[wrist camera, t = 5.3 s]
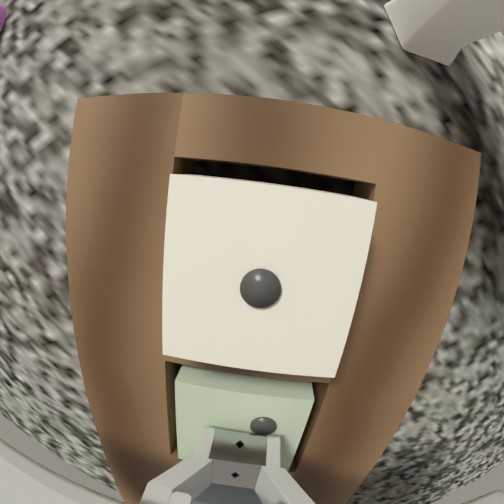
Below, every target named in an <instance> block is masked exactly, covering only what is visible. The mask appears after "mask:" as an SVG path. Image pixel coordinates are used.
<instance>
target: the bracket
mask: <svg viewBox="0 0 504 504" xmlns="http://www.w3.org/2000/svg"><path fill="white" fill-rule="evenodd" d="M5 18H6V8H5V6H3V5H1V4H0V32H1V30H2V28H3V25H4V22H5Z"/></svg>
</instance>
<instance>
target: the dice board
mask: <svg viewBox="0 0 504 504" xmlns="http://www.w3.org/2000/svg"><path fill="white" fill-rule="evenodd" d="M195 161H203V162H215V163H225V164H234V165H244V166H252V167H260V168H268V169H276V170H283V171H290V172H297V173H303V174H310V175H316V176H322V177H328V178H333V179H339V180H345V181H350V182H354V188H353V194H352V196H354V197H358V198H363V199H367V200H371V201H375V202H377V207H376V213H375V219H374V225H373V230H372V236H371V241H370V246H369V251H368V256H367V261H366V265H365V270H364V274H363V279H362V283H361V287H360V291H359V295H358V299H357V303H356V307H355V311H354V315H353V318H352V322H351V326H350V329H349V333H348V336H347V340H346V343H345V347H344V350H343V353H342V356H341V360H340V363H339V366H338V369H337V372H336V375H335V378H329V377H314V376H301V375H290V374H281V373H271V372H263V371H255V370H248V369H240V368H234V367H227V366H221V365H215V364H209V363H203V362H198V361H192V360H187V359H182V358H177V357H172V356H168V355H163V349H162V293H163V261H164V241H165V225H166V211H167V199H168V188H169V178H170V174H191V175H193V174H194V166H195ZM480 163H481V153H480V152H477V151H475V150H472V149H470V148H467V147H465V146H462V145H460V144H457V143H454V142H452V141H449V140H446V139H443V138H441V137H438V136H435V135H432V134H429V133H426V132H423V131H420V130H416V129H413V128H410V127H407V126H403V125H400V124H396V123H393V122H389V121H385V120H381V119H378V118H374V117H370V116H365V115H361V114H357V113H352V112H348V111H343V110H338V109H333V108H328V107H323V106H317V105H311V104H305V103H299V102H292V101H285V100H277V99H269V98H260V97H250V96H238V95H224V94H204V93H143V94H123V95H110V96H99V97H89V98H80V99H78V100H77V106H76V112H75V118H74V124H73V132H72V139H71V148H70V157H69V169H68V183H67V207H66V243H67V267H68V281H69V293H70V302H71V311H72V319H73V326H74V333H75V339H76V345H77V351H78V356H79V361H80V366H81V371H82V376H83V380H84V385H85V389H86V393H87V397H88V401H89V405H90V408H91V412H92V415H93V419H94V422H95V426H96V429H97V432H98V435H99V438H100V441H101V444H102V447H103V450H104V453H105V456H106V459H107V461H108V464H109V467H110V469H111V472H112V474H113V477H114V479H115V482H116V484H117V487H118V489H119V491H120V493H121V496H122V498H123V500H124V502H125V503H127V504H139V503H140V501H141V498H142V496H143V493H144V491H145V488H146V486H147V483H148V482H149V481H151V480H153V479H154V478H156V477H158V476H159V475H161V474H162V473H164V472H165V471H167V470H169V469H170V468H172V467H173V466H175V465H176V464H178V463H179V462H181V461H182V460H183V459H179V458H178V447H177V430H176V407H175V379H176V377H177V375H178V373H179V371H180V369H181V366H182V364H184V365H189V366H194V367H199V368H205V369H211V370H217V371H223V372H229V373H236V374H243V375H250V376H258V377H266V378H274V379H284V380H295V381H306V382H312V388H313V394H314V403H313V406H312V409H311V412H310V414H309V417H308V420H307V423H306V426H305V429H304V431H303V434H302V437H301V440H300V442H299V445H298V448H297V450H296V453H295V455H294V458H293V460H292V463H291V465H290V468H289V470H288V473H289V474H290V475H291V476H292V478H293V479H294V480H295V481H296V482H297V483H298V485H299V486H300V487H301V488H302V489H303V490H304V491H305V493H306V494H307V495H308V496H309V497H310V498H311V499H312V500H313V502H314V503H315V504H346V503H347V502H348V501H349V500H350V498H351V497H352V496H353V494H354V493H355V492H356V490H357V489H358V488H359V486H360V485H361V484H362V482H363V481H364V480H365V478H366V477H367V475H368V474H369V473H370V471H371V470H372V468H373V467H374V465H375V464H376V462H377V461H378V459H379V458H380V456H381V455H382V453H383V452H384V450H385V448H386V447H387V445H388V444H389V442H390V440H391V439H392V437H393V435H394V434H395V432H396V430H397V428H398V427H399V425H400V423H401V421H402V420H403V418H404V416H405V414H406V412H407V410H408V408H409V407H410V405H411V403H412V401H413V399H414V397H415V395H416V393H417V391H418V389H419V387H420V385H421V382H422V380H423V378H424V376H425V374H426V372H427V369H428V367H429V365H430V362H431V360H432V358H433V355H434V353H435V350H436V348H437V345H438V343H439V340H440V338H441V335H442V332H443V330H444V327H445V324H446V321H447V319H448V316H449V313H450V310H451V307H452V303H453V300H454V297H455V294H456V290H457V287H458V284H459V280H460V276H461V273H462V269H463V265H464V261H465V257H466V253H467V248H468V244H469V239H470V234H471V229H472V224H473V218H474V212H475V206H476V199H477V191H478V183H479V174H480Z"/></svg>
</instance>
